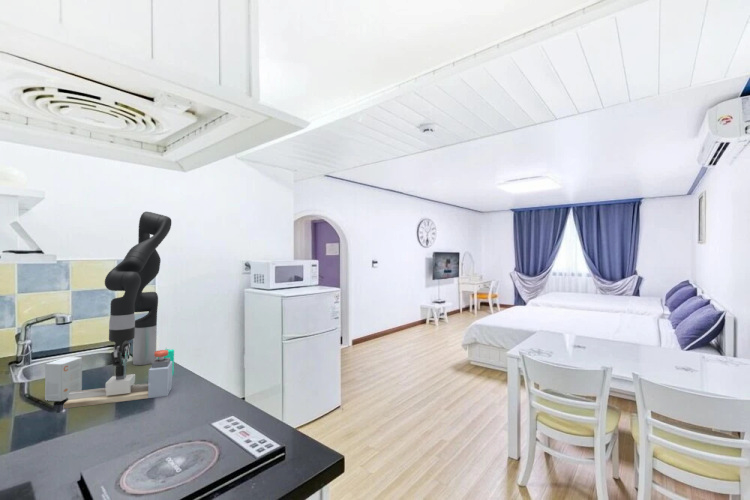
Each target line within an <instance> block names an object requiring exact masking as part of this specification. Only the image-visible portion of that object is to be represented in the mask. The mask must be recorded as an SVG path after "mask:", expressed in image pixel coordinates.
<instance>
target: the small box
mask: <svg viewBox="0 0 750 500" xmlns="http://www.w3.org/2000/svg"><path fill="white" fill-rule="evenodd" d="M44 367H45V370H44V371H45V373H44V374H45V378H44V379H45V380H44V382H45V383H44V388H45V389H44V401H45V400H46V402H51V401H52V402H62V401H64V400H68V394H69V393H70V392H72V391H81V390H82V389H83V357H82V356H80V357H79V356H66V357H62V358H60V359H57V360H54V361H50V362H47V363H45V365H44ZM47 400H48V401H47Z"/></svg>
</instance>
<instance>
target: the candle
mask: <svg viewBox="0 0 750 500" xmlns="http://www.w3.org/2000/svg"><path fill="white" fill-rule="evenodd" d="M164 350H168V355H167V356H164V358H170V361H172V377H173V376H174V375H175V374H174V373H175V372H174V371H175V370H174V369H175V366H174V365H175V349H174V348H173V349H167V348H165V349H164ZM157 359H159V357H157Z"/></svg>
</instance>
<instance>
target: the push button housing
mask: <svg viewBox="0 0 750 500" xmlns="http://www.w3.org/2000/svg"><path fill="white" fill-rule="evenodd" d="M147 382H148V398H147V399H152V398H153V399H154V398H162V397H167V396H168V395H169V393H170V392H171V390H172V388H173V376H172V361H170V358H164V361H159V359H158V358H156V359H154V361H153V362H152V363H151V367H150V368H149V369H148V381H147Z"/></svg>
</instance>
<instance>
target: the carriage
mask: <svg viewBox="0 0 750 500" xmlns="http://www.w3.org/2000/svg"><path fill="white" fill-rule="evenodd" d="M118 362H119V361H118ZM126 363H127V362H126V358H125V359H124V375H123V376H119V377H116V375H112V376H111V377H110V378H109V379H108V380H107V381H106V382H105V388H106V389H105V391H106V396H109V395H118V394H126V393H130V392H131V386H132V385H136V384H135V382H136V374H135V373H132V374H127V367H126Z"/></svg>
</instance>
